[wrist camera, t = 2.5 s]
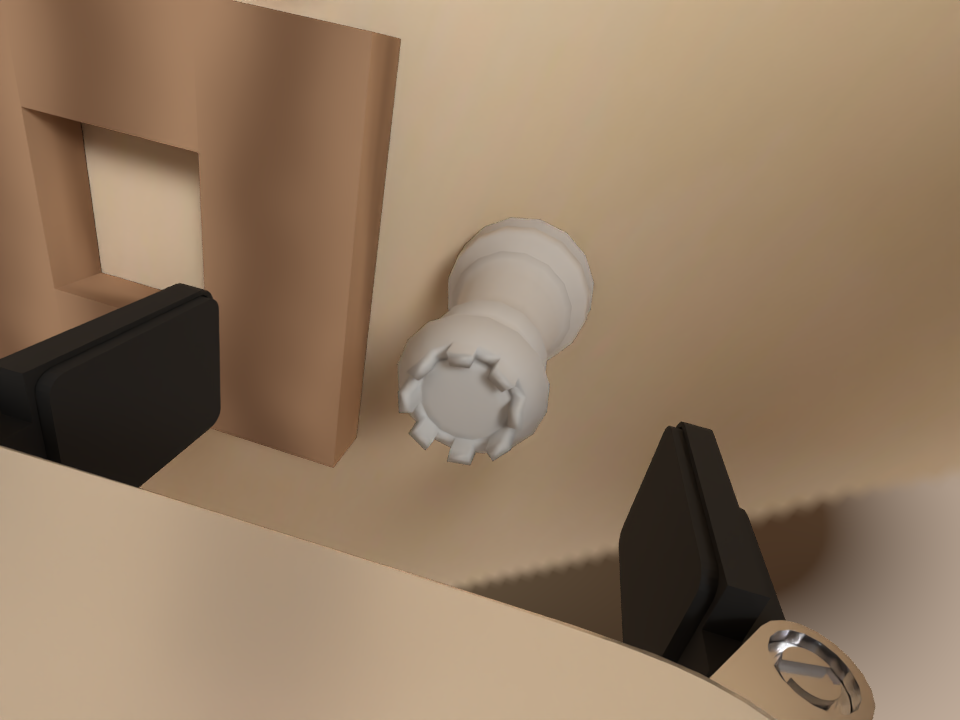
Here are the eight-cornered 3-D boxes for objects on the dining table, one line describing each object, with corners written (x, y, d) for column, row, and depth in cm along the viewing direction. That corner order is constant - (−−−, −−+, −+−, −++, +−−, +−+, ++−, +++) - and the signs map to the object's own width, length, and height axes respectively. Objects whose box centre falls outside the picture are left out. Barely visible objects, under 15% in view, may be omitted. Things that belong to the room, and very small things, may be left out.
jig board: (400, 38, 15) (372, 31, 13) (356, 437, 22) (333, 467, 20) (-82, -70, 17) (-163, -89, 15) (11, 329, 24) (-37, 348, 22)
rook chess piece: (472, 196, 17) (365, 270, 10) (614, 236, 16) (609, 344, 9) (445, 325, 19) (340, 463, 12) (570, 364, 18) (539, 531, 11)
